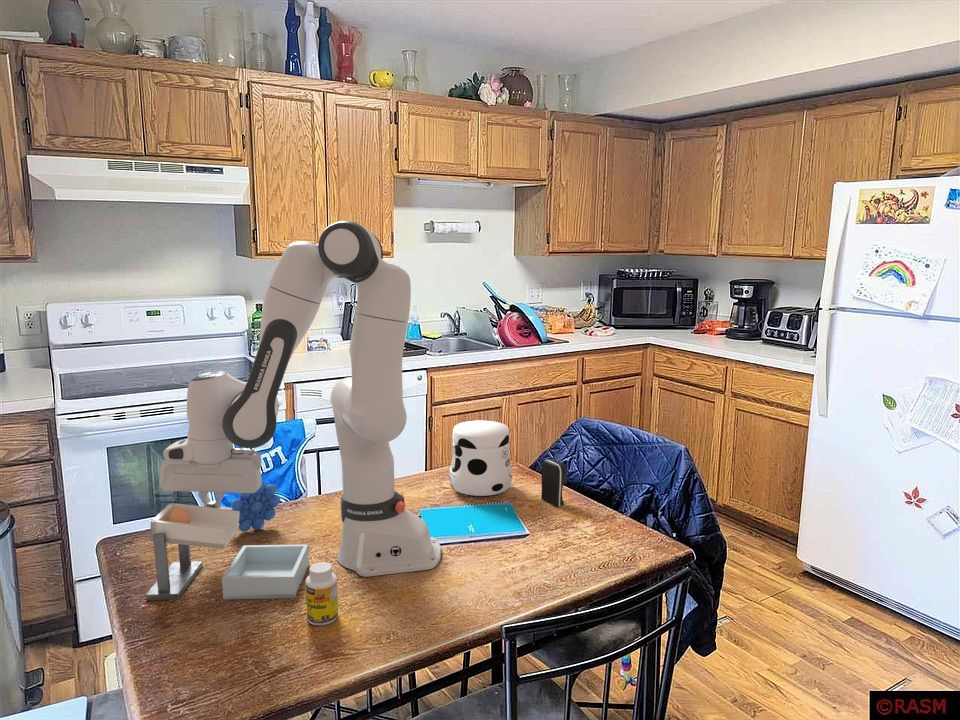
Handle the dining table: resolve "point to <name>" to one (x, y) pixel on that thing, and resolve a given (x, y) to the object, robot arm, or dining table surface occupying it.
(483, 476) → the spotted cookie jar
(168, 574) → the trough stand
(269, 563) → the pale blue tray
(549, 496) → the battery charger
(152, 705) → the dining table surface
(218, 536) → the tipping trough
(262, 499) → the grapes
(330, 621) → the supplement bottle
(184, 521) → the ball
